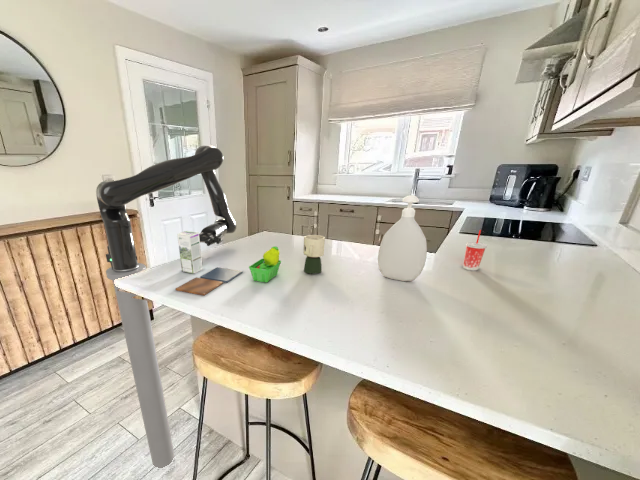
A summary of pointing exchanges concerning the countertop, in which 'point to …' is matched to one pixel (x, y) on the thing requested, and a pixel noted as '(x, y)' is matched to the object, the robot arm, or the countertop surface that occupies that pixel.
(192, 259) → the syrup box
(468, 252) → the beverage cup
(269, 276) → the fruit basket
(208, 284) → the wooden coaster
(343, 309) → the countertop surface
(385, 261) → the soap bottle
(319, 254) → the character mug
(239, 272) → the slate pad
